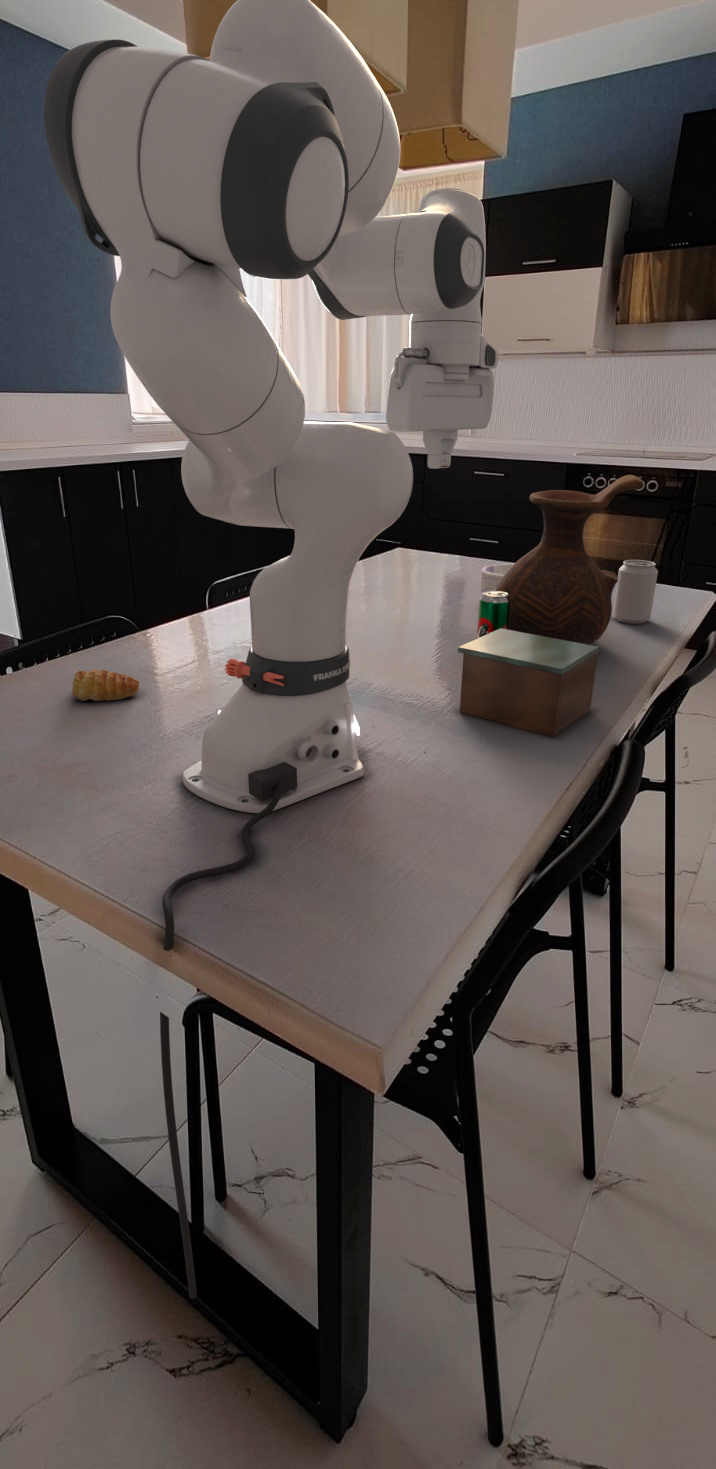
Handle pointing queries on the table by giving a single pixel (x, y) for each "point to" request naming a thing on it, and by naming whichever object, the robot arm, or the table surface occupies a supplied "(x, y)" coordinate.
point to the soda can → (493, 612)
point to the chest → (526, 694)
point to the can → (635, 591)
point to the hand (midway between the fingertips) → (438, 467)
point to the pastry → (103, 685)
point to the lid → (529, 650)
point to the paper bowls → (492, 576)
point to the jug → (563, 571)
